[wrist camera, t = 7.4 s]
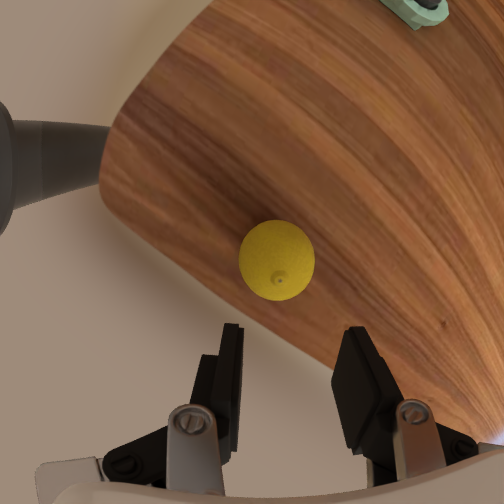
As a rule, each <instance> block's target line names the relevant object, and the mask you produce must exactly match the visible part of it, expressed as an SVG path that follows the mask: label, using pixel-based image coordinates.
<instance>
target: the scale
mask: <svg viewBox="0 0 504 504" xmlns="http://www.w3.org/2000/svg"><path fill="white" fill-rule="evenodd" d="M379 1H381V2H382V3H383V4H384V5H386V6H387V7H388V8H389V9H391V10H392V11H393V12H394V13H395V14H397V15H398V16H399V17H400V18H401V19H402V20H404V21H405V22H406V23H407V24H408V25H409V26H410V27H411V28H412V29H413V30H414V31H415V30H417V29H418V28H420V27H421V26H435V25H437V24H439V23H440V22H442V21H444V19H445V18H446V17H447V16H448V14H449V13H448V5H447V2H446V0H442V1H441V2H440V3H439V4H438V5H436V6H435V7H433V8H431V9H426V8H423V7H421V6H420V5H418V4H417V3H416V2H415V1H414V0H379Z"/></svg>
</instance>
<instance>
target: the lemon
mask: <svg viewBox="0 0 504 504" xmlns="http://www.w3.org/2000/svg"><path fill="white" fill-rule="evenodd" d="M314 263H315V258H314V251H313V247H312V245H311V243H310V240H309V238H308V237H307V236H306V235H305V233H304V232H303V231H302V230H301V229H300V228H298V227H297V226H296V225H294V224H292V223H289V222H287V221H282V220H270V221H265V222H263V223H260V224H258V225H257V226H255V227H254V228H253V229H251V230H250V232H249V233H248V234H247V235H246V236H245V238H244V240H243V242H242V244H241V247H240V252H239V267H240V271H241V274H242V276H243V279H244V281H245V282H246V284H247V285H248V286H249V288H250V289H251V290H252V291H253V292H255V293H256V294H257V295H259V296H261V297H263V298H265V299H269V300H285V299H289V298H292V297H294V296H296V295H298V294H299V293H300V292H301V291H302V290H304V288H305V287H306V286H307V284H308V283H309V282H310V279H311V277H312V274H313V271H314Z"/></svg>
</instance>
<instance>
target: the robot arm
mask: <svg viewBox="0 0 504 504" xmlns="http://www.w3.org/2000/svg"><path fill="white" fill-rule="evenodd" d="M243 342H244V328H239V324H231V323H225V324H224V328H223V334H222V339H221V344H220V350H219V355H218V356H217V355H205V354H203V355H202V357H201V360H200V364H199V368H198V372H197V376H196V379H195V383H194V387H193V391H192V395H191V399H190V403H189V404H185V405H182V406H179V407H177V408H176V409H174V410H173V411H172V412H171V414H170V415H169V419H168V425H167V426H165V427H163V428H161V429H159V430H157V431H154V432H152V433H150V434H148V435H146V436H143V437H141V438H139V439H136V440H134V441H132V442H130V443H127V444H125V445H122V446H120V447H117V448H115V449H113V450H111V451H109V452H108V453H107V454H106V455H105V456H104V458H99V459H96V457H88V458H82V459H74V460H65V461H57V462H47V463H43V464H41V465H40V466H39V467H38V468H37V470H36V472H35V482H36V489H37V495H38V500H39V504H504V446H502V445H495V444H488V443H482V442H479V443H478V444H476V442H475V441H474V440H473V439H472V438H471V437H469V436H468V435H465V434H463V433H460V432H458V431H455V430H453V429H450V428H448V427H446V426H443V425H441V424H439V423H436V422H435V420H434V417H433V413H432V411H431V409H430V407H429V406H428V405H427V404H426V403H424V402H422V401H420V400H417V399H406V400H404V398H403V396H402V393H401V391H400V389H399V387H398V385H397V383H396V382H395V380H394V378H393V376H392V374H391V372H390V370H389V368H388V366H387V364H386V362H385V360H384V359H383V357H381V356H380V355H379V353H378V351H377V350H376V348H375V346H374V344H373V342H372V340H371V338H370V336H369V335H368V333H367V331H366V329H365V327H363V326H356V327H350V328H349V330H345V332H344V335H343V339H342V343H341V347H340V350H339V354H338V358H337V361H336V365H335V369H334V372H333V376H332V380H331V386H332V390H333V394H334V398H335V401H336V405H337V409H338V413H339V417H340V421H341V425H342V429H343V432H344V437H345V441H346V445H347V447H348V448H349V449H350V448H351V449H352V453H353V455H359V454H363V456H364V457H366V458H367V462H366V463H367V489H362V490H356V491H350V492H343V493H336V494H328V495H319V496H307V497H289V498H243V497H226V496H225V490H224V483H223V475H222V467H221V466H222V465H224V464H226V463H227V462H229V459H230V458H231V451H233V452H237V444H238V430H239V415H240V400H241V387H242V367H243Z"/></svg>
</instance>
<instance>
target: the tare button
mask: <svg viewBox="0 0 504 504" xmlns="http://www.w3.org/2000/svg"><path fill="white" fill-rule="evenodd" d="M414 1H415V2H416V3H417V4H418V5H420V6H421V7H423V8H426V9H431V8H433V7H435V6H436V5H438V4H439V3H440V2H441V1H442V0H414Z"/></svg>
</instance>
